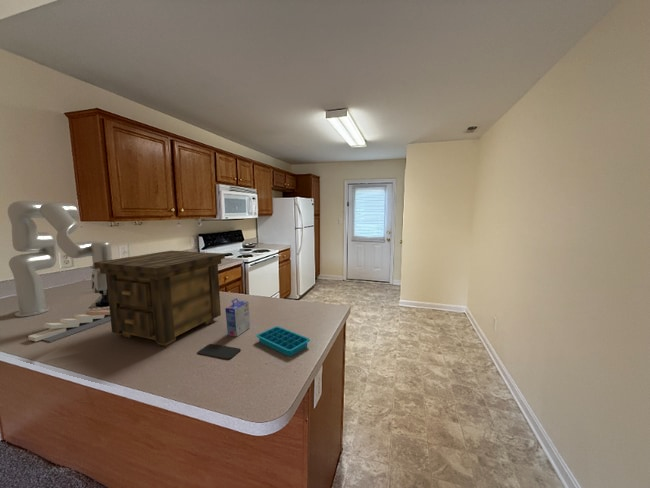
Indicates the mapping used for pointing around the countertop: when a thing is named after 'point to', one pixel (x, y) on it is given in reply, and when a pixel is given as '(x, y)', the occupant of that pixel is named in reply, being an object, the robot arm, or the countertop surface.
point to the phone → (219, 351)
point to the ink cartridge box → (237, 317)
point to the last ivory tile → (46, 334)
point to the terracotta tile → (98, 312)
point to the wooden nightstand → (162, 293)
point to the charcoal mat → (76, 329)
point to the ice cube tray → (283, 340)
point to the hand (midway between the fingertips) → (107, 301)
